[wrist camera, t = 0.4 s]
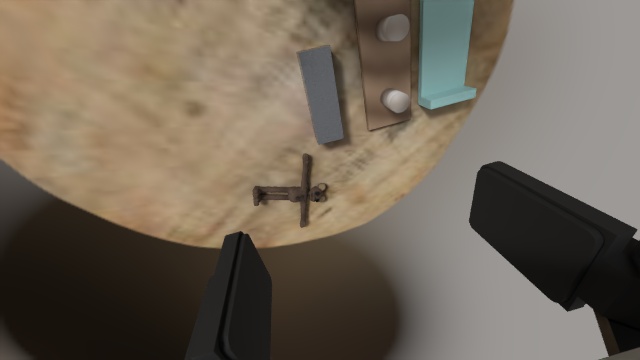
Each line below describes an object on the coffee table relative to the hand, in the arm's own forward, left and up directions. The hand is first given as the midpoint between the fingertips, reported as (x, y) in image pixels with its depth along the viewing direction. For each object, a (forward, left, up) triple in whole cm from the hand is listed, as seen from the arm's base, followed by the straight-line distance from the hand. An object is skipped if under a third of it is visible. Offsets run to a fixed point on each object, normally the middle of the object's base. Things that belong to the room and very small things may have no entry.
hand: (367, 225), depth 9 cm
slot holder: (-2, +25, -33) cm, 41 cm away
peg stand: (0, +15, -33) cm, 36 cm away
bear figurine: (+19, -7, -34) cm, 39 cm away
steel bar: (+2, +3, -33) cm, 34 cm away
